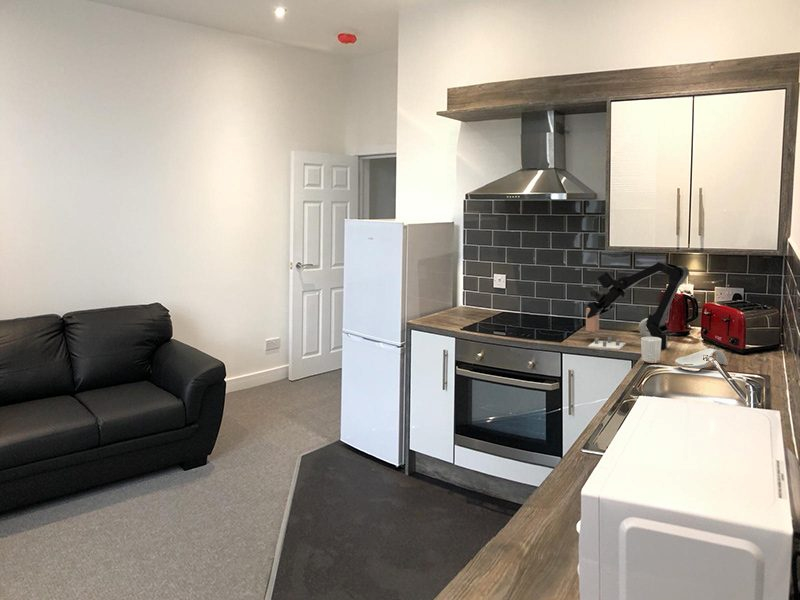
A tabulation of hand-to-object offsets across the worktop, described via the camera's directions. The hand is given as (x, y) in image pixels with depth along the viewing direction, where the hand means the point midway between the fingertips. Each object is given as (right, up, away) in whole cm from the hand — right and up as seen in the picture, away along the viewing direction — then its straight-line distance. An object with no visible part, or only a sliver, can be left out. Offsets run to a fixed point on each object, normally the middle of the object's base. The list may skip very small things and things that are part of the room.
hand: (589, 316), depth 306 cm
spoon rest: (+27, -19, -59) cm, 67 cm away
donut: (+29, -11, 0) cm, 31 cm away
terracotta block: (+1, -7, 0) cm, 7 cm away
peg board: (+3, -13, -15) cm, 20 cm away
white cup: (+11, -18, -48) cm, 52 cm away
